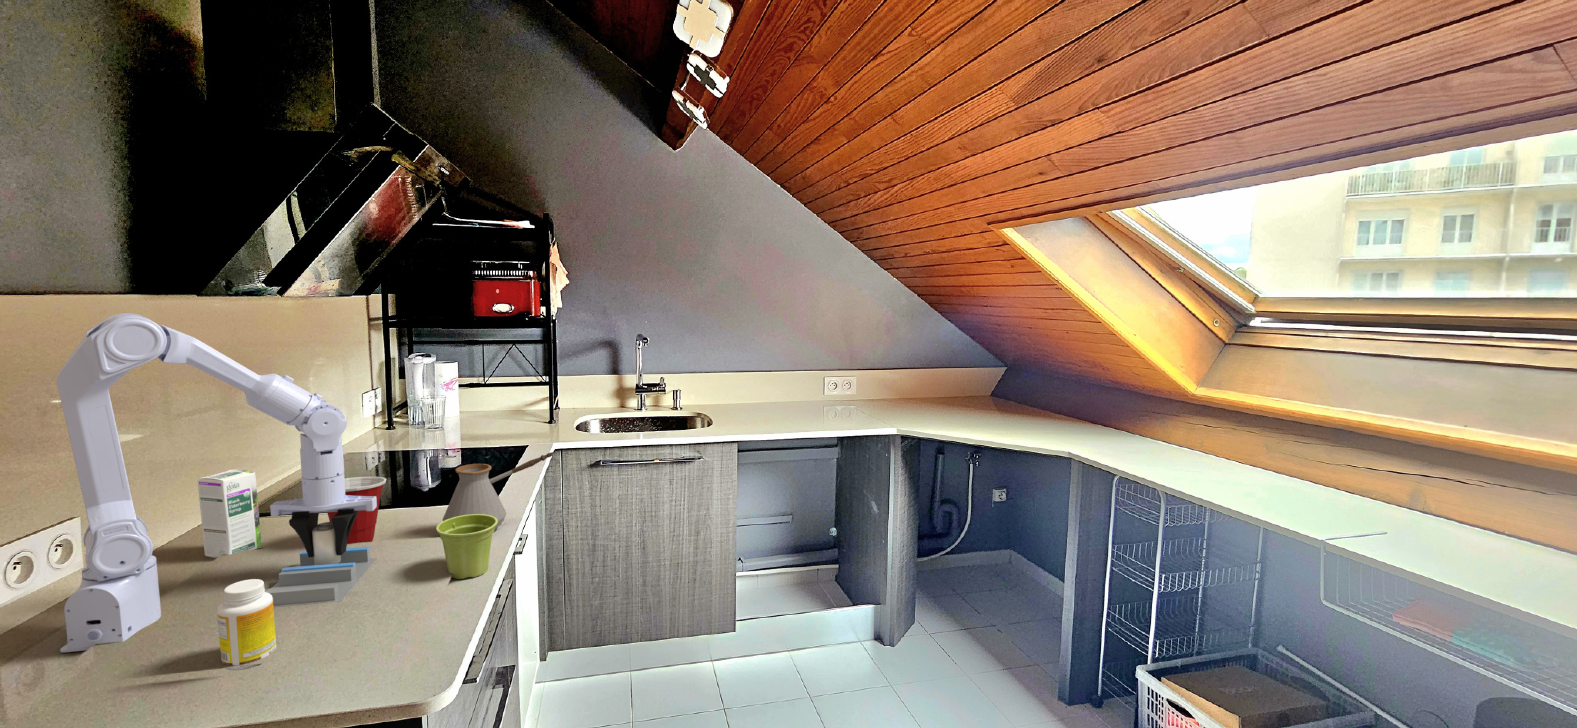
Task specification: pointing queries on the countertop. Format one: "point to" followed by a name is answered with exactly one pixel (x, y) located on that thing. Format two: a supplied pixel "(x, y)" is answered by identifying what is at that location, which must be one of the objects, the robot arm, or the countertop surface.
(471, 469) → the coffee pot
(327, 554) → the grey-capped cream cylinder
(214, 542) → the syrup box
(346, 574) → the grey and blue rack
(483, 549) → the plant pot
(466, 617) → the countertop surface
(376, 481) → the plastic cup
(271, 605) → the supplement bottle
